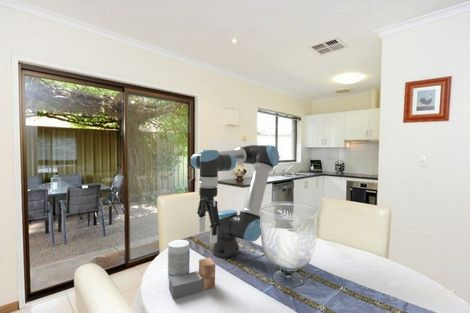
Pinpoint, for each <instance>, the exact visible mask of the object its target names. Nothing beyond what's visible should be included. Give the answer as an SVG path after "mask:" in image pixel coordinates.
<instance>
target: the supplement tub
mask: <svg viewBox="0 0 470 313" xmlns="http://www.w3.org/2000/svg"><path fill="white" fill-rule="evenodd" d="M167 245H168V247H167V277H168V278H169V277H173V276H178V275H182V274H187V273H190V259H191V258H190V257H191V256H190V255H191V254H190V253H191V252H190V251H191V249H190V241H188V240H186V239H175V240H172V241H170V242H168V244H167Z"/></svg>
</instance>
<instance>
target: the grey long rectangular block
mask: <svg viewBox="0 0 470 313" xmlns="http://www.w3.org/2000/svg"><path fill="white" fill-rule="evenodd" d="M168 279H169V280H168V290H169V292H170V295H171V298H172V300H176V299H179V298H184V297H187V296H190V295H194V294H198V293H201V292H203V291H204V290H203V278H202V277H201V275H200V274H199V270H198V271H192V272H189V273H187V274H182V275H178V276H173V277H168Z"/></svg>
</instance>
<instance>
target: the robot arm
mask: <svg viewBox="0 0 470 313" xmlns="http://www.w3.org/2000/svg"><path fill="white" fill-rule="evenodd" d="M279 154H280V153H279V151H278V149H277V147H276V146H275V145H269V144H267V145H265V144H264V145H263V144H261V145H255V144H254V145H253V144H252V145H245V146H242V147H241V146H240V147H237V148H235V149H230V150H223V151H222V150H221V151H219V150H218V149H202V150H200V152H198V153H197V152H196V153H194V154H192V156H191V157H190V165H191V167H193V168H194V169H198V170H199V179H198V182H199V186H200V187H199V188H198V189H199V191H198V192H199V194H198V195H199V203H198V208H197V213H196V214H197V215H198V233H204V232H206V216H207V214H206V213H208V217H209V222H210V226H209V243H210V245H211V244H212V246H211V247H212V248H211V253H212V255H214V256H215V257H218V258H223V259H227V258H228V259H229V258H234V257H236V256H238V255H239V253H240V248H239V244H238V239H241V240H244V241H248V242H256V241H257V240H258V239H259V238H260V237H261V235H262V234H261V228H260V216H261V207H262V203H263V199H264V196H265V191H266V187H267V184H268V179H269V176H270V172H272V171H274V170H273V169H274V167H276V166H278V165H279V163H280V162H279V161H280V155H279ZM237 164H238V165H239V164H247V165H252V166H253V168H254V169H253V173H252V177H251V180H250V185H249V188H248V193H247V195H246V200H245V203H244V207H243V208H242V209H241V210H239V214H238V211H237V210H235V209H226V210H225V209H224V210H221V211H219V210H218V209H219V208H218V201H217V200H215V197H217V196H218V184H219V175H218V174H219V172H229V171H233V170H234V169H235V168H236V166H237ZM237 238H238V239H237Z"/></svg>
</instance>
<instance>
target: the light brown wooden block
mask: <svg viewBox="0 0 470 313" xmlns="http://www.w3.org/2000/svg"><path fill="white" fill-rule="evenodd" d="M198 272H199V274H200V275H201V277H202V278H203V291H205V290H209V289H213V288H214V289H215V288H216V263H215V262H214V260H213V259H212V258H211V257H206V258H201V259H198Z"/></svg>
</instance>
